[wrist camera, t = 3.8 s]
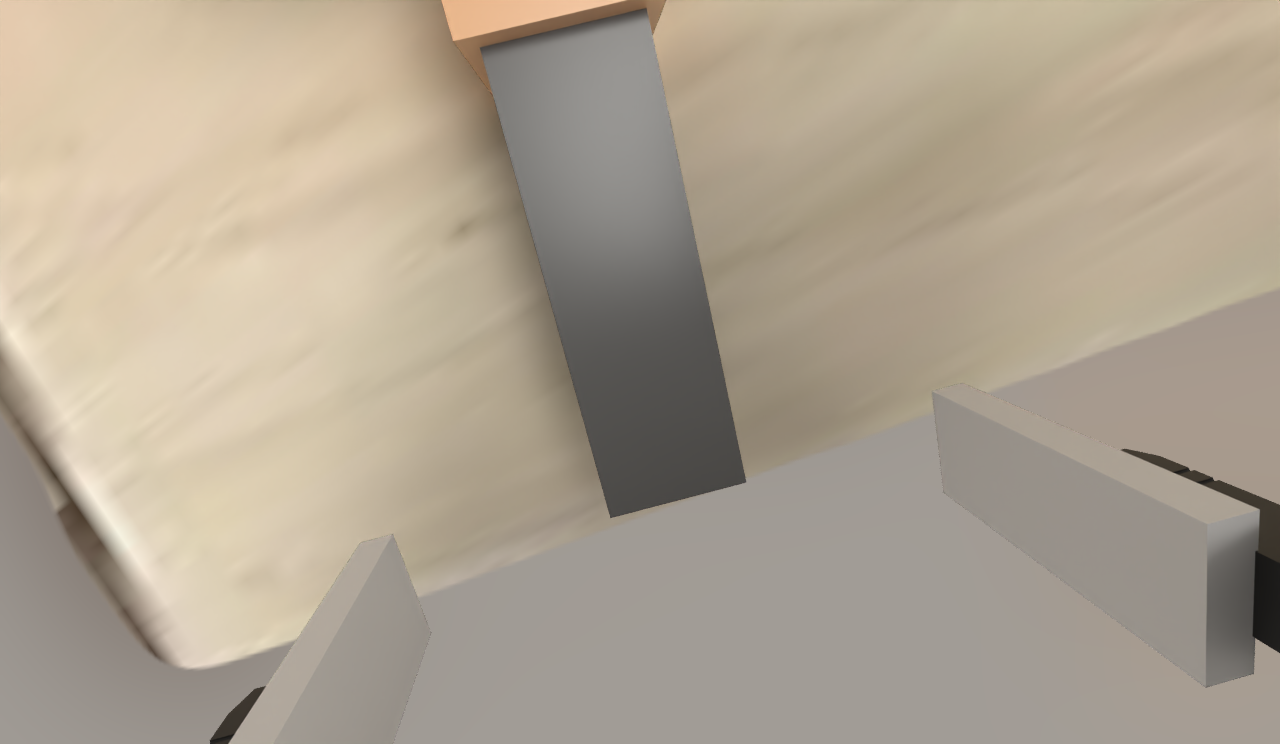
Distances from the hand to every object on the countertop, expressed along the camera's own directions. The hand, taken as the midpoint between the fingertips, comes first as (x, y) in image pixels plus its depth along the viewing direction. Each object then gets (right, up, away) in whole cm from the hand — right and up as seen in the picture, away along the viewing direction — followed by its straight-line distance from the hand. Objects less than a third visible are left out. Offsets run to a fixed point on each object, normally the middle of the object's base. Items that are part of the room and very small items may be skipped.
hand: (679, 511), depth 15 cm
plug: (-3, +11, +11) cm, 16 cm away
